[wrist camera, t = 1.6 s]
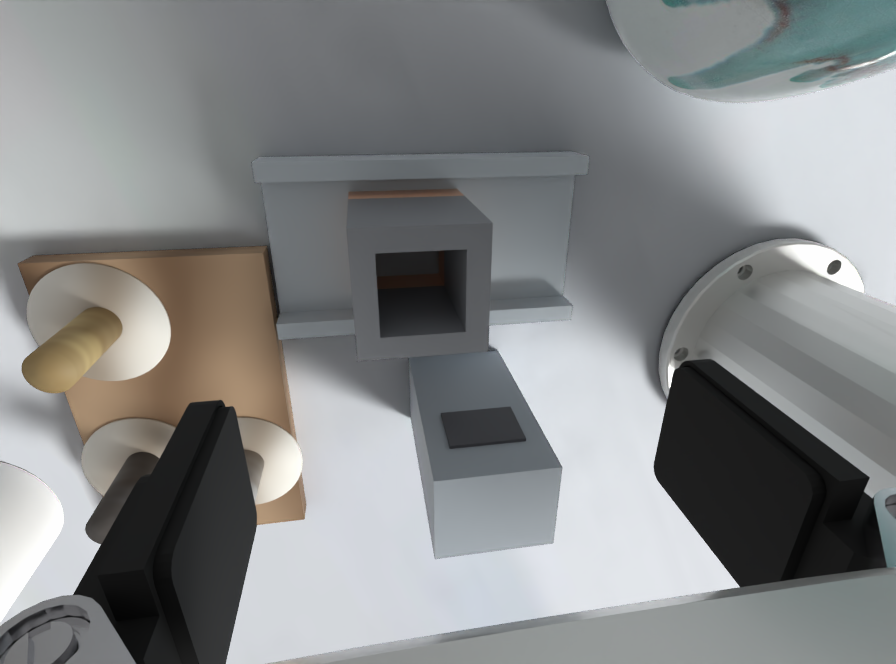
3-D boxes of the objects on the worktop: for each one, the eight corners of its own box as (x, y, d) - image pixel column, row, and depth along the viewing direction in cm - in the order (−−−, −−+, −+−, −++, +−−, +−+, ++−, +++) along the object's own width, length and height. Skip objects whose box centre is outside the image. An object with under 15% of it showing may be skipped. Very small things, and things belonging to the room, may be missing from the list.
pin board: (275, 245, 24) (255, 286, 19) (312, 503, 31) (304, 584, 26) (23, 255, 23) (-72, 303, 18) (120, 525, 30) (71, 616, 25)
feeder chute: (572, 151, 25) (589, 156, 23) (557, 305, 28) (571, 320, 26) (259, 156, 23) (251, 162, 21) (283, 322, 26) (278, 339, 24)
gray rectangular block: (498, 348, 29) (562, 463, 20) (494, 410, 31) (553, 543, 22) (408, 354, 28) (433, 478, 19) (410, 418, 30) (434, 559, 21)
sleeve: (456, 188, 24) (493, 223, 18) (456, 289, 26) (488, 351, 20) (348, 191, 23) (346, 228, 17) (356, 295, 25) (357, 361, 19)
